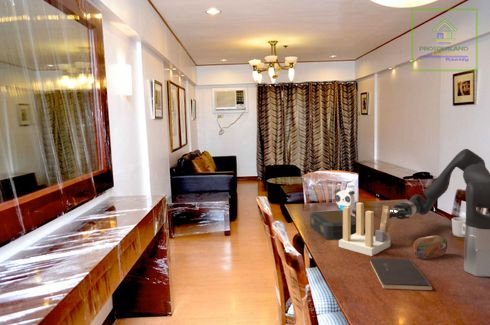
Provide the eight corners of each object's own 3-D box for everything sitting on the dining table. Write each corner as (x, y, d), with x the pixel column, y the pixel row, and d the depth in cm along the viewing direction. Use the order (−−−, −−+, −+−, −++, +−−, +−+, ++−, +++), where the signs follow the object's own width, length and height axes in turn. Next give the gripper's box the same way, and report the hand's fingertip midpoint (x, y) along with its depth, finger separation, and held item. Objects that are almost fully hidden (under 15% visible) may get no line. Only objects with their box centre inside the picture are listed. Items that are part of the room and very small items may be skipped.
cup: (476, 240, 161) (477, 223, 160) (457, 240, 163) (457, 223, 162) (466, 233, 172) (467, 217, 171) (448, 233, 173) (449, 217, 172)
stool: (392, 245, 159) (392, 206, 157) (371, 256, 148) (372, 213, 146) (359, 237, 171) (360, 200, 169) (338, 246, 160) (338, 207, 158)
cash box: (366, 237, 172) (366, 221, 171) (326, 240, 169) (326, 225, 168) (344, 223, 196) (344, 209, 196) (309, 225, 193) (308, 212, 193)
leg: (386, 239, 158) (390, 206, 159) (383, 239, 156) (388, 205, 157) (381, 238, 160) (385, 205, 160) (378, 238, 158) (383, 205, 159)
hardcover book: (382, 290, 119) (382, 283, 119) (369, 263, 142) (369, 257, 142) (433, 292, 117) (433, 285, 117) (411, 264, 139) (411, 258, 139)
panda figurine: (330, 215, 213) (330, 190, 211) (341, 211, 220) (341, 187, 219) (348, 218, 204) (348, 193, 202) (358, 214, 211) (358, 190, 210)
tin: (417, 260, 142) (417, 240, 141) (411, 257, 145) (411, 237, 144) (447, 255, 146) (448, 235, 145) (441, 252, 149) (442, 233, 148)
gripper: (391, 200, 175) (373, 205, 164) (419, 204, 165) (401, 210, 154) (391, 215, 176) (373, 221, 165) (418, 220, 166) (401, 227, 155)
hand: (386, 216), depth 159 cm, fingers closed
